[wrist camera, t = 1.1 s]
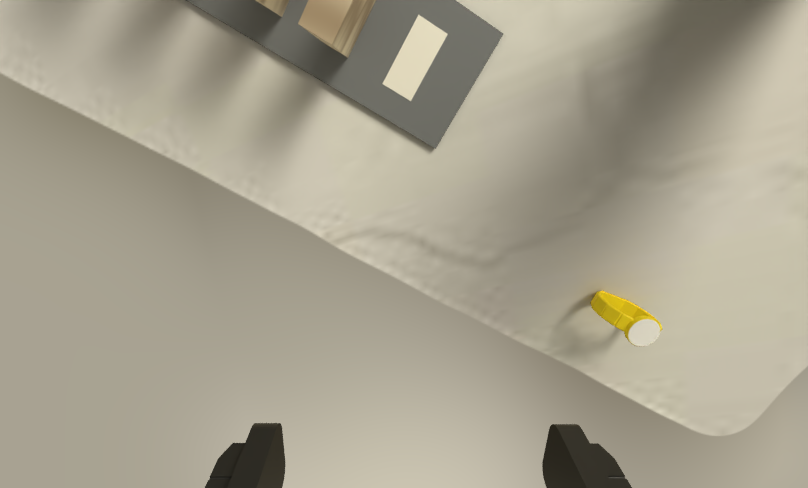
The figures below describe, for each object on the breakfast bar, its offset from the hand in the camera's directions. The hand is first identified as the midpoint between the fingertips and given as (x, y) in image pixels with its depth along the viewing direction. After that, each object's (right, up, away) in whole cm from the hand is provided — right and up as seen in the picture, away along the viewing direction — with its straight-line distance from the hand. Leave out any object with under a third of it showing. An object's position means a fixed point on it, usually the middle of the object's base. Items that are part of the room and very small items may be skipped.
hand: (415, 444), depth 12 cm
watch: (+20, 0, +29) cm, 35 cm away
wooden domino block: (-4, +23, +19) cm, 30 cm away
